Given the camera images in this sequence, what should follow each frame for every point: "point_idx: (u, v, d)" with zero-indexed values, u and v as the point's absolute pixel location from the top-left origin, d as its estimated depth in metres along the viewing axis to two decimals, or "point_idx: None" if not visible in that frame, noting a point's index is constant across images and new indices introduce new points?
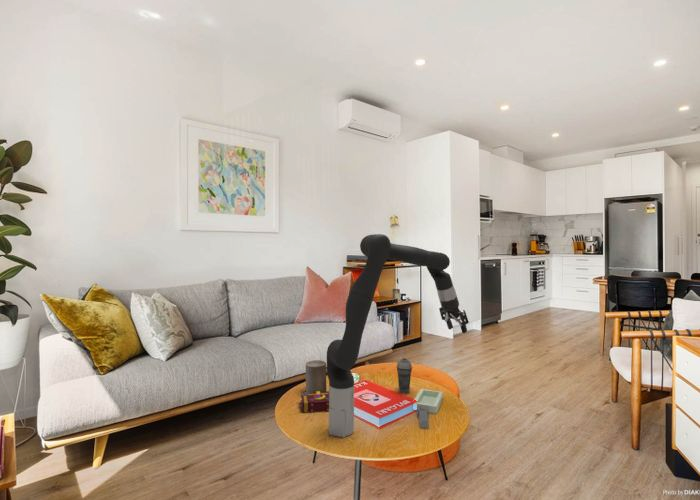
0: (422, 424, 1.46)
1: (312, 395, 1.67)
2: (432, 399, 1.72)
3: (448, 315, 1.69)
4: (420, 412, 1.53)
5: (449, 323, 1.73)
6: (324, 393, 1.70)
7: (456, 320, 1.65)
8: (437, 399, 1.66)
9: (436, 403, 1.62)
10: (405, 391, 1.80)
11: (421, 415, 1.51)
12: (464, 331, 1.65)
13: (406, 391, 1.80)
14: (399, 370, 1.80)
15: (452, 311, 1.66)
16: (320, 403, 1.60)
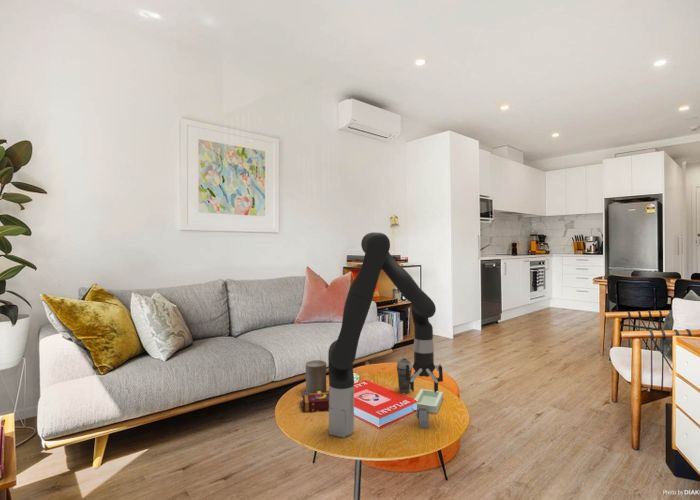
0: (422, 424, 1.46)
1: (313, 395, 1.68)
2: (432, 399, 1.72)
3: None
4: (420, 412, 1.53)
5: (413, 384, 1.52)
6: (325, 393, 1.70)
7: (432, 376, 1.49)
8: (437, 399, 1.66)
9: (436, 403, 1.62)
10: (405, 391, 1.80)
11: (421, 415, 1.51)
12: (437, 389, 1.50)
13: (406, 391, 1.80)
14: (399, 370, 1.80)
15: (428, 366, 1.50)
16: (321, 402, 1.61)
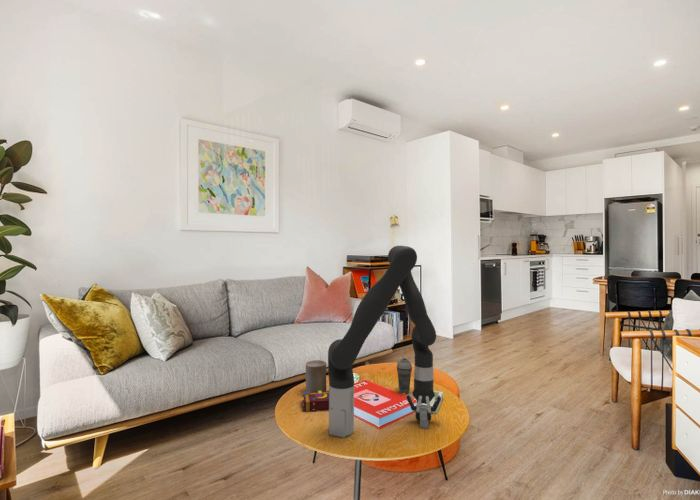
0: (422, 423, 1.46)
1: (314, 394, 1.68)
2: (432, 399, 1.72)
3: (421, 399, 1.50)
4: (420, 412, 1.53)
5: (419, 414, 1.51)
6: (326, 392, 1.71)
7: (428, 405, 1.50)
8: None
9: None
10: (405, 391, 1.80)
11: (421, 415, 1.51)
12: (430, 419, 1.50)
13: (406, 391, 1.80)
14: (399, 370, 1.80)
15: (428, 393, 1.50)
16: (322, 402, 1.61)
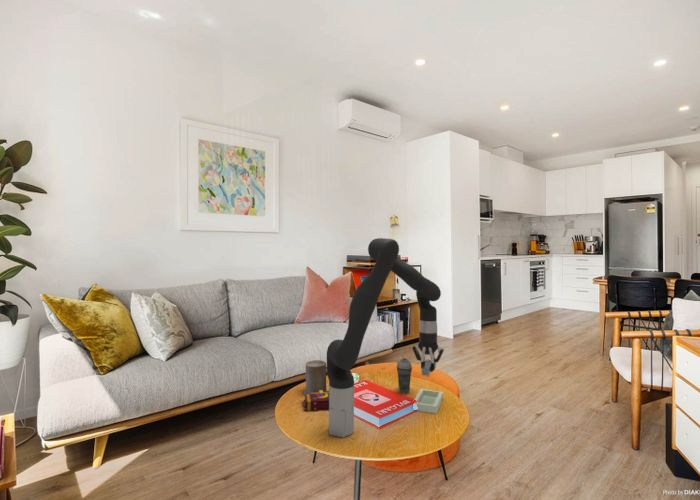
0: (423, 371, 1.62)
1: (315, 394, 1.69)
2: (432, 399, 1.72)
3: (425, 350, 1.66)
4: (426, 363, 1.69)
5: None
6: (327, 392, 1.71)
7: (431, 356, 1.65)
8: (437, 399, 1.66)
9: (436, 403, 1.62)
10: (405, 391, 1.80)
11: (425, 365, 1.66)
12: (433, 369, 1.65)
13: (406, 391, 1.80)
14: (399, 370, 1.80)
15: (431, 345, 1.65)
16: (323, 402, 1.62)
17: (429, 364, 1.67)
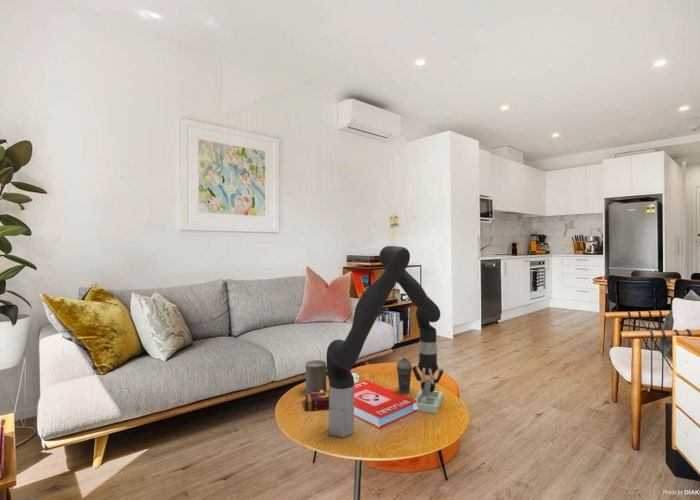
0: (423, 392, 1.62)
1: (316, 393, 1.69)
2: (432, 399, 1.72)
3: (425, 371, 1.66)
4: (426, 383, 1.69)
5: (424, 384, 1.68)
6: (327, 391, 1.72)
7: (431, 377, 1.65)
8: (437, 399, 1.66)
9: (436, 403, 1.62)
10: (405, 391, 1.80)
11: (425, 385, 1.67)
12: (433, 390, 1.66)
13: (406, 391, 1.80)
14: (399, 370, 1.80)
15: (431, 366, 1.65)
16: (324, 401, 1.62)
17: (429, 385, 1.67)
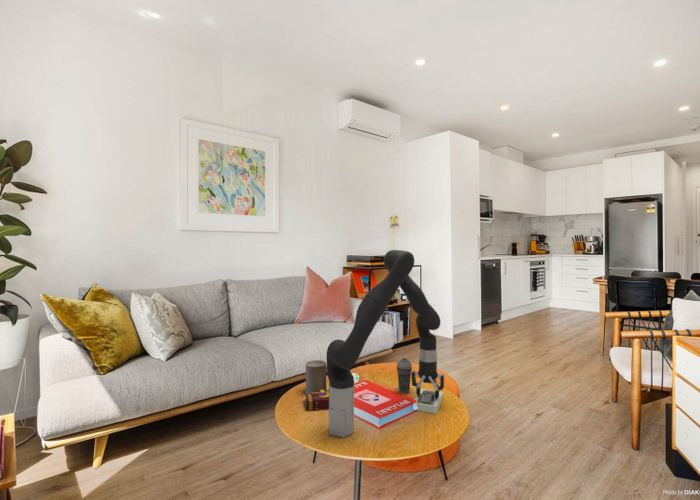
0: None
1: (316, 393, 1.69)
2: None
3: (424, 379, 1.66)
4: (425, 395, 1.69)
5: (419, 389, 1.68)
6: (328, 391, 1.72)
7: (434, 384, 1.65)
8: (437, 399, 1.66)
9: (436, 403, 1.62)
10: (405, 391, 1.80)
11: (425, 397, 1.67)
12: (438, 397, 1.65)
13: (406, 391, 1.80)
14: (399, 370, 1.80)
15: (431, 374, 1.66)
16: (325, 401, 1.62)
17: (429, 396, 1.67)
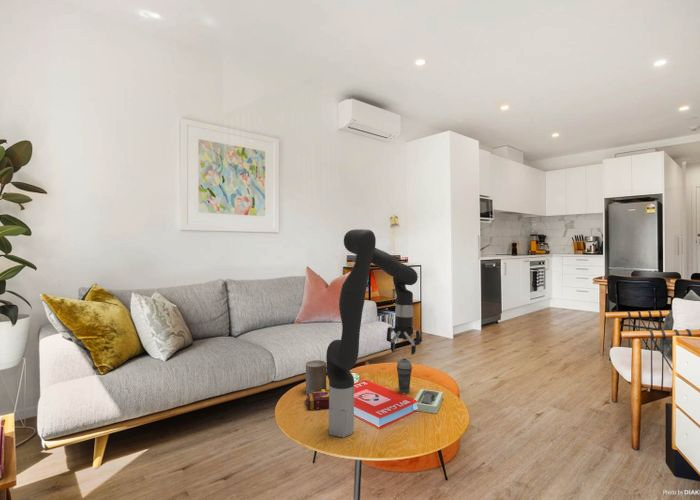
0: None
1: (317, 393, 1.70)
2: None
3: (399, 335, 1.66)
4: (425, 395, 1.69)
5: (394, 345, 1.68)
6: None
7: (409, 339, 1.63)
8: (437, 399, 1.66)
9: (436, 403, 1.62)
10: (405, 391, 1.80)
11: (425, 397, 1.67)
12: (414, 352, 1.64)
13: (406, 391, 1.80)
14: (399, 370, 1.80)
15: (406, 330, 1.65)
16: (326, 401, 1.63)
17: (429, 396, 1.67)
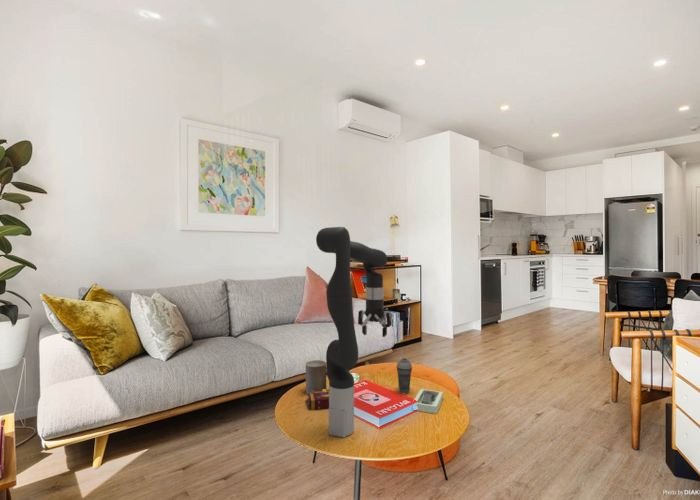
0: None
1: (318, 393, 1.70)
2: None
3: (370, 317, 1.65)
4: (425, 395, 1.69)
5: (365, 328, 1.67)
6: None
7: (380, 322, 1.63)
8: (437, 399, 1.66)
9: (436, 403, 1.62)
10: (405, 391, 1.80)
11: (425, 397, 1.67)
12: (385, 334, 1.64)
13: (406, 391, 1.80)
14: (399, 370, 1.80)
15: (377, 312, 1.64)
16: (327, 400, 1.63)
17: (429, 396, 1.67)
